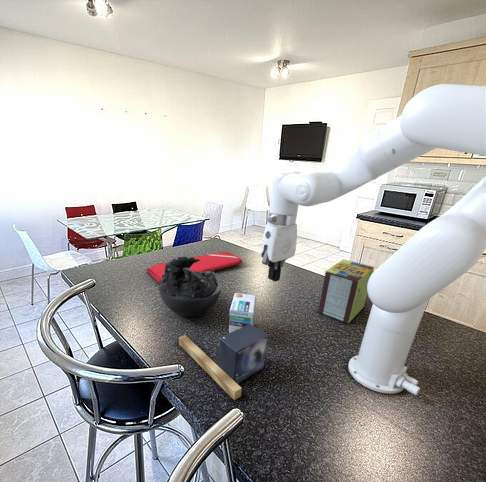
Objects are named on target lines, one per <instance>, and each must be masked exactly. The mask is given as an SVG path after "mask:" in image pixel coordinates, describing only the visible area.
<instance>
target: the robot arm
mask: <svg viewBox="0 0 486 482" xmlns="http://www.w3.org/2000/svg"><path fill="white" fill-rule="evenodd" d="M403 108H404V109H403V110H402V113H401V115H399V116H397V117H396V118H393V119H392V120H390V121H389V122H387V123H385V124H384V125H383V126H381V127H379V128H377V129H376V130H374V131H372V132H371V133H369V134H368V135H366V136H365V137H363V138H362V139H361V140H360V142H359V143H358V146H357V149H356V150H355V151H354V152H353V154H351V155H350V156H349V157H347V158H346V159H345V160H343V161H342V162H340V163H338V164H337V165H335V166H333V167H331V168H329V169H327V170H325V171H321V172H320V171H319V172H312V173H310V172H309V173H301V172H300V171H296V170H277V171H275V172H274V174H273V176H272V180H271V191H270V197H269V198H270V199H269V207H268V213H267V215H268V216H267V218H266V221H267V223H266V224H265V228H264V232H263V235H262V242H261V249H260V256H261V258H262V260H261V264H262V265H264V266H267V267H268V275H267V279H269V280H270V281H272V282H275V283H276V282H279V281H280V279H281V273H282V268H284V264H285V262H286V261H287V260H289V259H291V258H293V257H294V256H295V253H296V250H297V240H298V224H297V216H298V212H299V206H302V207H313V206H317V205H321V204H325V203H329V202H332V201H334V200H336V199H338V198H340V197H342V196H345V195H347V194H348V193H351V192H353V191H355V190H356V189H358V188H361V187H363V186H364V185H367V184H368V183H370V182H372V181H375V180H376V179H378V178H379V177H382V176H383V175H385V174H387V173H389V172H391V171H393V170H395V169H397V168H399V167H401V166H403V165H405V164H407V163H409V162H411V161H414V160H415V159H417V158H420V157H421V156H424V155H425V154H428V153H430V152H432V151H434V150H436V149H441V150H447V151H452V152H453V151H454V152H459V153H465V154H472V155H478V156H483V157H486V85H472V84H471V85H470V84H460V83H459V84H457V83H440V84H434V85H432V86H429V87H427V88H425V89H422V90H421V91H420V92H418V93H416V94H415V95H414V96H413V97H412V98H411V99H409V101H408V103H406V105H405V107H403ZM485 251H486V175H485V176H484V177H483V178H482V179H480V181H478V182H477V183H476V184H475V185H474V186H473V187H472V188H471V189H470V190H469V191H468V192H467V193H466V194H465V195H464V196H462V197H461V198H460V199H459V200H457V202H455V204H454V205H452V206H451V207H450V208H448V210H446V211H445V212H444V213H443V214H441V215H439V216H438V217H436V218H435V219H433V220H432V221H430V222H428V223H427V224H426V225H424V226H423V227H421V228H420V229H419V230H418V231H417V232H416V233H414V235H412V236H411V237H410V238H409V239H408V240H407V241H405V242H404V243H403V245H401V246H400V247H399V248H398V249H397V250H396V251H395V252H394V253H393V254H391V255H390V257H388V258H387V259H386V260H385V261H384V262H383V263H382V264H381V265H380V266H378V267H377V268H376V269H375V270H373V273H372V275H371V276H370V278H369V280H368V284H367V292H368V293H367V296H368V299H369V300H370V302H371V303H372V306H371V309H370V313H369V316H368V319H367V324H366V326H365V329H364V334H363V337H362V341H361V344H360V347H359V351H358V354H357V355H355V356H352V357H351V358H350V360H348V364H347V365H348V366H347V368H348V369H347V370H348V372H349V373H350V375H351V377H352V378H353V379H354V380H355V381H356V382H357V383H359V384H360V385H362V386H363V387H365V388H367V389H369V390H372V391H374V392H377V393H381V394H387V395H388V394H389V395H391V394H398V393H401V392H402V391H404V389H405V390H406V391H407V392H408V393H411V394H412V395H414V396H418V395H419V393H420V391H421V387H419V386H418V384H419V380H417V379H415V378H414V377H411V376H409V374H408V373H407V372H408V371H407V370H408V367H407V366H406V365H405V364H406V361H407V359H408V356H409V353H410V352H411V351H410V350H411V349H412V346H413V342H414V340H415V337H416V334H417V332H418V330H419V327H420V324H421V321H422V318H423V316H424V314H425V311H426V308H427V306H428V304H429V301H430V299H432V298H433V297H434V296H435V295H437V294H438V293H440V292H441V291H442V290H444V289H446V287H448V286H450V285H451V284H452V283H454V282H455V281H456V280H458V279H459V278H461V277H462V276H463V275H465V274H466V273H467V272H469V270H471V269H472V268H473V267H474V266H475V265H476V264H477V263H478V262H479V261H480V259H481V258H482V256H483V255H484V253H485Z"/></svg>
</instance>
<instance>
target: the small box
mask: <svg viewBox="0 0 486 482" xmlns="http://www.w3.org/2000/svg"><path fill="white" fill-rule="evenodd" d="M268 337H269V336H268V334H267V333H266V332H264V331H262V330H261V329H259V328H258V327H256V326H255V325H254V326H253V325H252V324H248V325H246V326H244V327H242V328H240V329H237V330H235V331H233V332H231V333H229V332H228V333H226V334H225V335H222V336H220V337H219V342H218V358H217V359H218V360H217V365H218V366H219V367H220V368H221V369H222V370H223V371H224V372H225V373H226V374H227V375H228V376H229V377H230V378H232V379H233V380H234V381H235V382H236V383H237V384H238V385H239V383H241V382H243V381H245V380H246V379H248V378H250V377H251V376H253V375H254V374H256V373H258V372H260V371H262V370H263V369H264V368H265V367H264V366H265V358H266V350H267V343H268Z"/></svg>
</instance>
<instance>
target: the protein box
mask: <svg viewBox="0 0 486 482" xmlns="http://www.w3.org/2000/svg"><path fill="white" fill-rule="evenodd" d="M374 269H375V267H374V266H372V265H367V264H364V263H360V262H357V261H352V260H348V259H344V258H343V259H341V260H340V261H338V262H337V263H335V264H334V265H333V266H331V267H329V268H328V269H327V270H325V272H324V278H323V283H322V289H321V294H320V300H319V305H318V311H317V313H319V314H321V315H325V316H326V317H330V318H333V319H335V320H337V321H339V322H342V323H345V324H346V325H347V324H349V323H351V321H352V320H353V319H354V318H355V317H356V316H357V315H358V314H359V313H360V312H361V310H362V309H363V308H364V307H365V304H366V299H367V296H368V292H367V284H368V280H369V278H370V276H371V275H372V273H373V272H374V271H375V270H374Z"/></svg>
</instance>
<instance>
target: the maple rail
mask: <svg viewBox="0 0 486 482" xmlns="http://www.w3.org/2000/svg"><path fill="white" fill-rule="evenodd" d="M178 343H179V344H178V345H179V346H180V347H181V348H182V349H183V350H184V351H185V352H186V353H187V354H188V355H189V356H190V358H192V359H193V360H194V361H195V362H196V363H197V364H198V365H199V366H200V367H201V369H203V371H204V372H205V373H206V374H208V376H209V377H211V379H213V380H214V382H215V383H216V384H217V385H218V386H219V387H220V388H221V389H222V390H223V391H224V392H225V393H226V394H227V395H228V396H229V397H230V398H231V399H232V400H233V401H236V400H237V399H239V398H241V397H242V392H243V391H242V390H243V388H242V387H241V386H240V385H239V383H238V384H237V383H236V382H235V381H234V380H233V379H232V378H230V377H229V376H228V375H227V374H226V373H225V372H224V371H223V370H222V369H221V368H220V367H219V366H218V363H216V362H215V361H214V360H213V359H211V358H210V357H209V356H208V355H207V353H205V352H204V351H203V350H202V349H201V348H200V347H199V346H198V345H197V344H196V343H194V342H193V341H192V340H191V339H190V337H188V336H187V335H186V334H184V335H181V336H179V337H178Z"/></svg>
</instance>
